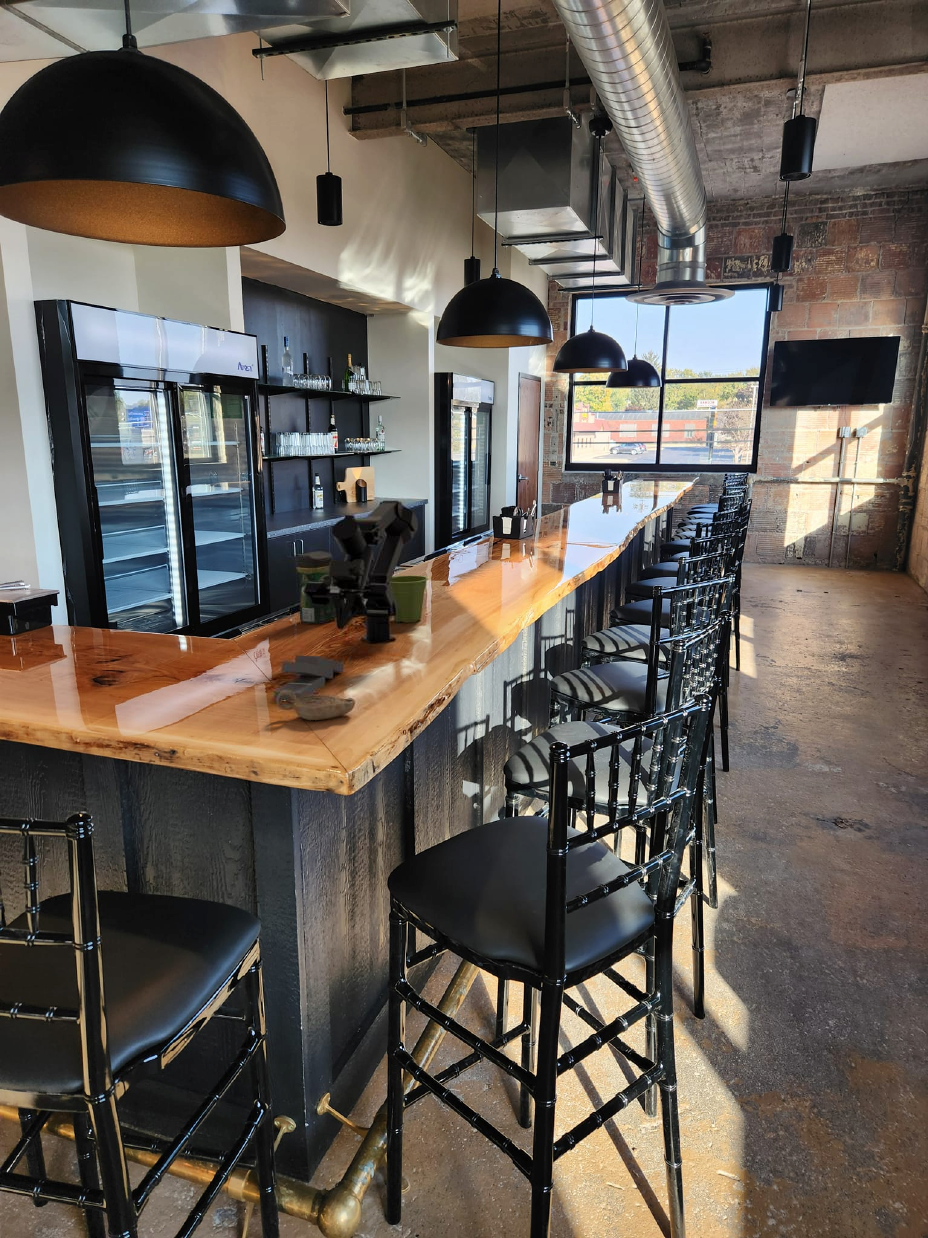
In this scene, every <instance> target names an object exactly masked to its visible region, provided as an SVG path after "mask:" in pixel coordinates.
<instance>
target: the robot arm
mask: <svg viewBox="0 0 928 1238" xmlns="http://www.w3.org/2000/svg"><path fill="white" fill-rule="evenodd" d="M418 528H419V522H418V518H417V516H416V514H415V513H414V511H413V510H411V509H409V508H408V507H406V506H404V504H403V503H402V502H401V501H399V500H382V501H380V503H379V505H378V506H376V508H375V509H374V510H373V511H371V512H370V513H369V514H368V515H367V516H364V517H358V518H356V517H355V515H354V514H345V516H344V518H343V519H341V520H338V521H337V522H336V523H335V524H334V525H333V526H332V527H331V532H332V536H333V537H334V540H335V541H336V544H337V545H338V547H339V549H340V551H341V553H343V554H345V558H344V560H343V561H342V560H341V561H340V560H333V561H330V565H329V574H328V576H329V577H332V580H333V587H330V589H327V587H326V585H325V584H324V582H308V583H306V584H305V587H304V590H303V592H304V593H305V595H306V597H307V598H308V600H309V601H310V603H311V604H312V605H315V606H326V605H327V604H329V602H330V601H331V603H332V605H333V607H334V608H335V612H336V619H335V621H336V628H337V629H338V630H343V629H344V628H345V627H346V626H347V625H348V624H349V623H350V621H352V619H354V617H356V616H359V617H360V616H364V617H365V618H364V619H365V635H362V636H360V640H363V641H366V642H368V643H369V644H378V643H385V642H391V641H392V642H393V641H396V639H397V637H395V636H392V635H391V625H390V623H391V622H390V620H391V619H390V618H392V617H393V616H396V615H397V610H398V608H397V602H396V600H395V598H394V596H393V593H392V590H391V587H390V582H391V579H392V577H394V572H395V570H396V567H397V564H398V561H399V558H400V556H401V552H402V550H403V547H404V545H406V544H408V543H409V542H411V541H412V540H413V538H414V536H415V534H416V532H418ZM382 541H383V543H382ZM381 543H382V545H381V547H380V548H381V549H380V550H379V554H378V555H377V559H376V561H375V557H374V551H373V549H372V547H371V546H379V545H380V544H381ZM374 562H375V564H374V567H373V570H372V572H371V574H369V571H370V568H371V567H370V566H371V564H372V563H374Z"/></svg>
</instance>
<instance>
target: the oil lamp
mask: <svg viewBox="0 0 928 1238" xmlns="http://www.w3.org/2000/svg"><path fill="white" fill-rule="evenodd" d="M285 694H287V695H290V697H291V698H292V700H293V702H291V704H285V703H284V702H283V701H281V696H282V695H285ZM275 702H276V705H277V707H278V708H279V709H281V710H283V711H291V710H294V711H295V712H296V714H297V716H298V717H299V718H302V719H303V720H307V721H311V720H315V721H322V720H327V719H333V718H338V717H341V716H344V715H347V714H348V713H350V712H351V711H353V709H354V708H355V705H356V700H355V699H353V698H351V697H349V698H340V697H339V696H338V695H337V696H335V695H334V696H333V695H328V694H312V695H306V696H302V697H299V698H296V696H295V694H294V693H293V692H292V691H290V690H283V691H281V692H280V693H279V695H278V697H277V700H276V701H275Z"/></svg>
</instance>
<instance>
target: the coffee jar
mask: <svg viewBox="0 0 928 1238" xmlns="http://www.w3.org/2000/svg"><path fill="white" fill-rule="evenodd" d="M330 561H334V559H333V555H332V553H331V552H329V551H322V550H321V551H311V552H306V553H301V554H298V555H297V556H296V570H297V573H298V576H299V620H300V621H301V622H302V623H304V624H308V625H311V624H324V623H327V622H331V621H333V620H336V612H335V608H334V607H333V605H332V603H331V601H330V602H329V604H327V605H326V606H315V605H312V604H311V603H310V601H309V600H308V598H307V597H306V595H305V593H304V592H303V590H304V587H305V584H306V583H308V582H324V584H325V585H326V587H327V589H330V587H334V584H333V578H332V577H329V576H328V574H329V565H330Z"/></svg>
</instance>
